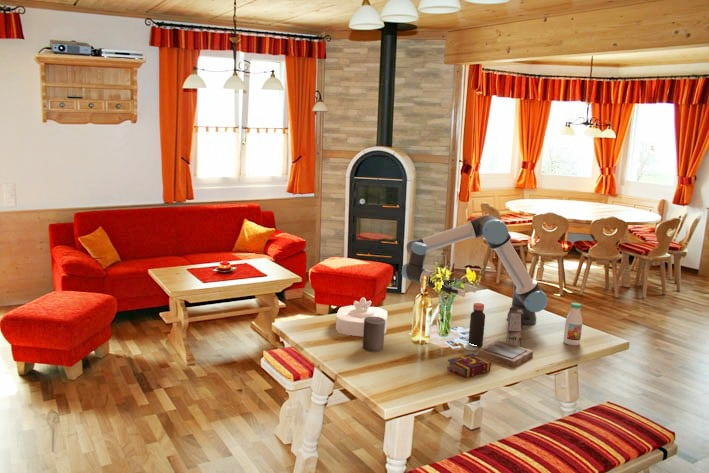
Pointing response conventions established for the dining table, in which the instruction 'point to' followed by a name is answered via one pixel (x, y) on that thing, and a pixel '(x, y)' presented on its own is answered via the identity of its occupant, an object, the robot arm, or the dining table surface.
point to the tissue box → (357, 317)
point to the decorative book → (469, 365)
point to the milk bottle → (573, 325)
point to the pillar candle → (373, 334)
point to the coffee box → (515, 326)
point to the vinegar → (477, 325)
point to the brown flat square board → (505, 353)
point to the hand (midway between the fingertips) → (470, 291)
